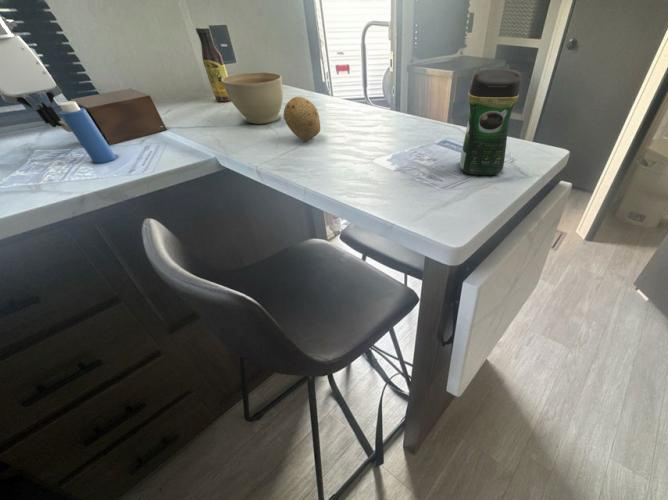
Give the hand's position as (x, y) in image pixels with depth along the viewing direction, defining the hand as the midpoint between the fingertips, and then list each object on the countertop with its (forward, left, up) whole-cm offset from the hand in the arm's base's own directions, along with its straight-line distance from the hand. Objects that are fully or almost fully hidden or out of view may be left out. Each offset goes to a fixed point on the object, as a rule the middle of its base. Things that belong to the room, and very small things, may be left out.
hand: (55, 125), depth 78 cm
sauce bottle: (+49, +9, -5) cm, 50 cm away
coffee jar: (+53, -91, -5) cm, 106 cm away
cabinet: (+14, 0, -5) cm, 15 cm away
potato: (+41, -45, -5) cm, 61 cm away
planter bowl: (+44, -21, -5) cm, 49 cm away
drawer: (+10, 0, -4) cm, 11 cm away
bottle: (+2, -16, -5) cm, 17 cm away
